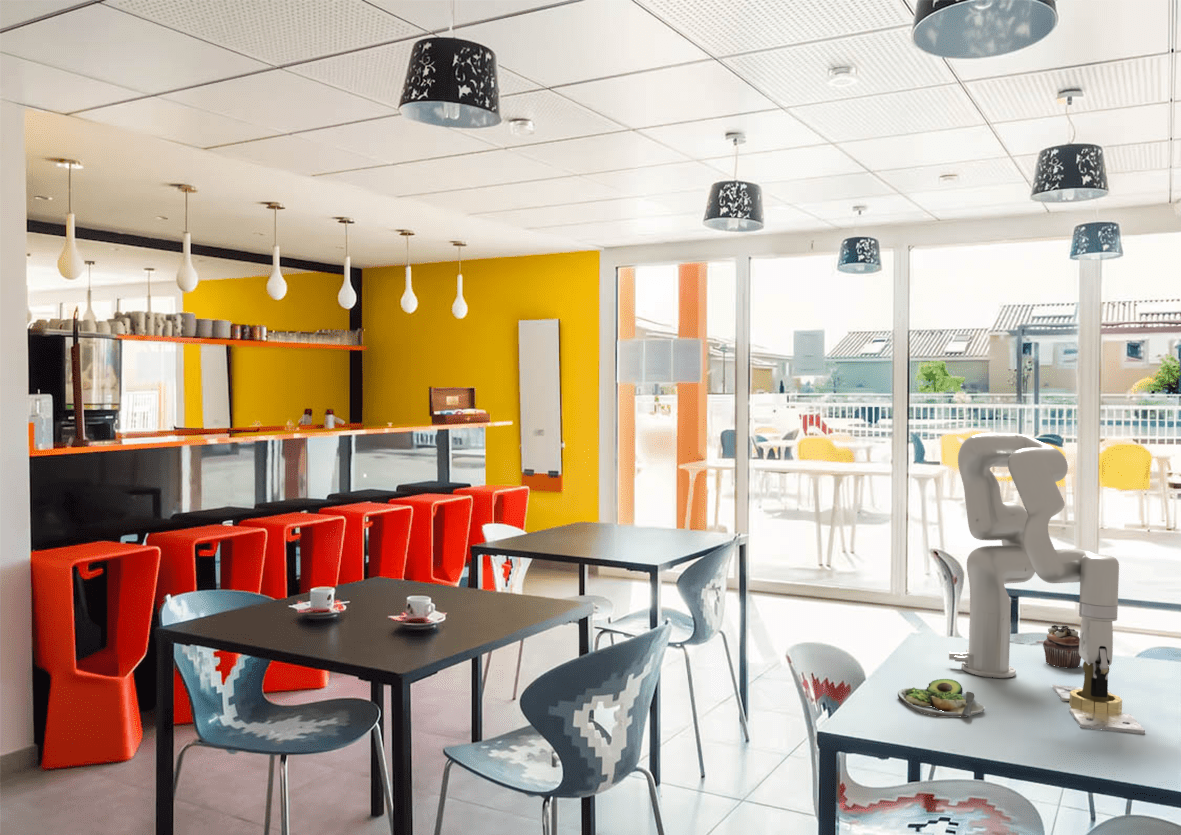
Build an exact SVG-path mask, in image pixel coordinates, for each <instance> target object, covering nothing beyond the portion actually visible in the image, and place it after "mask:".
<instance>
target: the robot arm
mask: <svg viewBox="0 0 1181 835" xmlns="http://www.w3.org/2000/svg"><path fill="white" fill-rule="evenodd" d="M957 464H958V470H959V474H960V477H961V482H962V484H963V491H964V500H965V501H964V502H965V510H966V516H967V517H966V518H967V524H968V529H969V532H970V534H971V535H972V537H973V538H974V539H976V540H978V541H979V540H980V541H1001V544H1002V545H985V546H981V547H976V548H975V549H973V550H972V551H971V552H970V553H969V555H968V556H967V559H966V571H967V576H968V583H969V624H968V625H969V627H968V634H969V635H968V648H966V649H965V651H962V652H961V653H960V652H956V651H955V652H954V651H949V652H948V660H949V661H950V660H951V661H954V662H959V663H960V662H962V663H961V670H963V671H964V672H966V673H968V674H972V675H974V674H975V676H979V677H983V678H984V677H985V678H992V677H993V678H994V679H1005V678H1012V677H1014V676H1016V675H1017V674H1016V669H1015V667H1013V666H1010V645H1011V644H1010V642H1011V639H1010V638H1011V615H1012V614H1011V611H1012V610H1011V608H1012V607H1011V606H1012V604H1011V600H1010V596H1009V593H1008V592H1007V589H1006V586H1005V585H1006V584H1018V583H1019V584H1021V583H1025V582H1027V581H1028V582H1029V581H1030V580H1031V579H1032V578H1033V577H1034V576H1035V574H1036V575H1037V577H1038V578H1039V579H1041V580H1042V581H1043V582H1045V583H1048V584H1065V583H1066V584H1068V583H1079V601H1078V602H1079V604H1078V606H1079V607H1078V608H1079V609H1078V611H1079V614H1078V616H1079V617H1080V618H1081V623H1080V630H1079V631H1080V632H1079V638H1080V641H1079V655H1080V656H1081V660H1083V662H1084V661H1085V662H1086V663H1087V664H1089V665H1090V664H1091V663H1092V667H1093V678H1092V677H1091V695H1092V696H1094V697H1105V698H1106V697H1107V692H1108V690H1109V689H1108V688H1109V687H1108V685H1109V683H1108V682H1109V673H1108V666H1109V667H1110V666H1111V665H1112V663H1113V650H1114V647H1113V646H1114V645H1113V644H1114V636H1113V633H1114V629H1113V622H1116V621H1118V610H1119V608H1118V607H1119V606H1118V605H1119V579H1120V578H1119V577H1120V563H1119V561H1118V559H1117V558H1115V557H1114V556H1112V555H1106V554H1096V553H1095V552H1092V551H1089V550H1086V549H1081V548H1071V549H1070V548H1069V549H1065V548H1064V549H1063V548H1062V549H1055V547H1054V544H1053V542H1052V539H1051V538H1050V533H1049V523H1050V520H1051V519H1052V518H1053V517H1054V516H1056V515H1057V514H1059V513H1060V512H1061V511H1063V509H1064V508H1065V500H1064V498H1063V495H1062V494H1061V492H1060V489H1059V487H1058V485H1057V482H1059V481H1060V482H1061V480H1063V479H1064V478H1065V477H1066V475H1067V474H1068V469H1069V468H1068V466H1069V465H1068V461H1067V459H1066V457H1065V456H1064V454H1063V453H1062V452H1061V451H1060V450H1059V449H1058V448H1055V447H1054V446H1051V445H1049V444H1047V443H1044V442H1042V441H1040V440H1038V439H1035V438H1033V437H1031V436H1028V435H1025V434H1021V433H1010V432H1009V433H1000V432H983V433H977V434H974V435H971V436H969V437H968V438H966V439H965V440H964V441H963V442H962V444H961V445H960V448H959V451H958V455H957ZM992 467H993V468H995V467H996V468H997V467H998V468H1006V467H1007V468H1008V471H1009V473H1010V474H1009V475H1010V477H1011V479H1012V481H1013V482H1014V486H1015V489H1016V491H1017V492H1018V494H1019V497H1020V500H1021V503H1022V504H1023V506H1024V507H1023V506H1022V505H1020V504H1018V503H1015V502H1003V501H1002V495H1001V486H1000V484H999V482H998V479H997V478H996V476H995V474H994V473H993V472H992V471H991V469H990V468H992ZM1095 661H1098V662H1100V664H1095ZM1096 667H1100V668H1098V669H1097V671H1096ZM1085 674H1086V673H1085V672H1084V677H1083V679H1085Z"/></svg>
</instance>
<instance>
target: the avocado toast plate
mask: <svg viewBox="0 0 1181 835" xmlns="http://www.w3.org/2000/svg"><path fill="white" fill-rule="evenodd" d="M963 691H964V690H963V686H962V684H961V683H960V682H958V681H957V680H954V679H952V678H951V679H950V678H940V679H936V680H932V681H930V682H929V683H928V686H926V688H916V687H912V688H911V687H910V688H902V689H900V690H898V691H897V697H898V699H899V700H900V701H901V702H902V703H904V704H905V705H906V704H907V705H906V706H908V707H909V708H911V709H913V710H914V711H916V710H917V712H918V711H919V713H921V712H922V713H921V714H924V713H925V714H924V715H928V714H930V715H929V716H932V715H936V716H935V717H939V716H961V717H960V718H967V717H966V716H968V717H971V716H974V715H977V714H979V713H983V711H985V706H984V705H983V704H982V703H980V702H979V701H977V700H975V693H974V692H970V691H966V692H965V691H964V692H963ZM913 704H915V705H913ZM917 705H921V706H917ZM926 706H932V707H935V708H937V709H938V710H942V711H944V712H942V711H938V710H937V709H936V710H934V709H928V708H925V707H926ZM932 707H931V708H932Z"/></svg>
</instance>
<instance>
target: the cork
mask: <svg viewBox="0 0 1181 835" xmlns="http://www.w3.org/2000/svg"><path fill="white" fill-rule="evenodd" d="M1095 664H1100V662H1098V661H1095ZM1098 668H1100V667H1096V671H1097V669H1098ZM1082 670H1083V672H1084V674H1085V673H1086V674H1085V679H1084V678H1083V679H1084V680H1083V686H1082V687H1083V690H1082V696H1081V697H1083V698H1086V699H1090V700H1095V701H1109V697H1108V692H1107V697H1106V698H1105V697H1094V696H1092V695H1091V677H1092V678H1093V667H1092V663H1091V664H1090V665H1089V664H1087V663H1086V662H1085V661H1084V660H1083V664H1082ZM1109 672H1110V666H1108V674H1109Z"/></svg>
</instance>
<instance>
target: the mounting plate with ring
mask: <svg viewBox="0 0 1181 835" xmlns="http://www.w3.org/2000/svg"><path fill="white" fill-rule="evenodd" d="M1051 688H1052V689H1054V690H1053V691H1054V693H1055V694H1056V693H1057V694H1056V695H1057V696H1059V697H1060V698H1059V697H1058V698H1059V699H1060V701H1061V700H1062V701H1061V702H1063V701H1069V702H1068V704H1069V705H1070V706H1071V707H1070V706H1069V713H1070V715H1071V714H1072V715H1071V716H1072V717H1074V718H1073V719H1074V720H1075V722H1076V721H1077V722H1076V724H1077V725H1078V724H1079V725H1080V726H1079V725H1078V726H1079V727H1080V728H1081V727H1082V728H1081V729H1087V728H1092V729H1091V730H1096V729H1102V730H1101V731H1106V730H1109V731H1108V732H1116V731H1118V733H1126V732H1127V734H1137V735H1146V730H1145V729H1144V727H1143V726H1142V725H1141V724H1140V723H1139V722H1138V721H1137V720H1136V718H1135V717H1134V716H1133V715H1132V714H1130V713H1123V712H1122V711H1123V699H1122V697H1120V696H1119V695H1116V694H1113V693H1111V691H1110V690H1109V689H1108V697H1109V701H1095V700H1090V699H1086V698H1083V697H1081V696H1082V690H1083V686H1082V687H1081V686H1073V685H1072V686H1071V685H1061V684H1052V687H1051Z"/></svg>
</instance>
